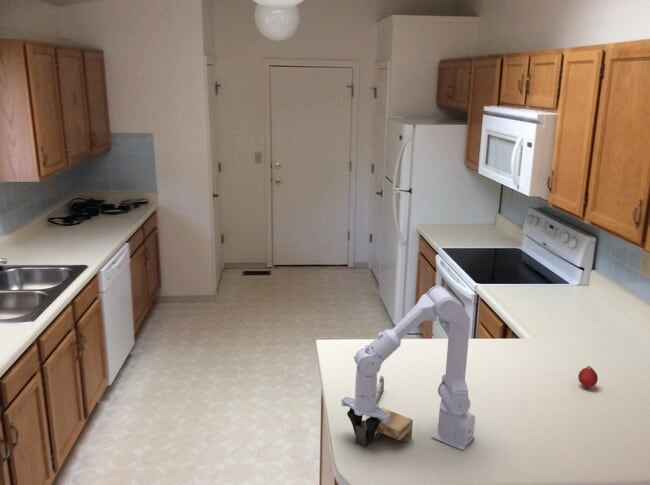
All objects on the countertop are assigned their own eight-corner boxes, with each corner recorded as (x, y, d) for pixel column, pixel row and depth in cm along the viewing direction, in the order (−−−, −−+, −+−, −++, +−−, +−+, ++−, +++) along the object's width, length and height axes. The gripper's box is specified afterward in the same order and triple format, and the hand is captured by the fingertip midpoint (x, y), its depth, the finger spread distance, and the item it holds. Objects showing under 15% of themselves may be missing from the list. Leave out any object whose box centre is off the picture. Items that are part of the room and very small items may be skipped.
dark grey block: (365, 447, 157) (365, 430, 156) (355, 442, 159) (355, 425, 158) (382, 435, 163) (383, 417, 162) (372, 430, 165) (373, 413, 164)
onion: (581, 381, 195) (584, 360, 193) (598, 388, 191) (602, 366, 189) (574, 387, 191) (577, 365, 189) (591, 394, 187) (595, 371, 185)
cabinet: (411, 439, 161) (412, 419, 160) (398, 451, 156) (399, 431, 154) (380, 426, 167) (381, 407, 166) (367, 437, 162) (368, 418, 160)
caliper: (380, 391, 187) (381, 373, 185) (383, 392, 187) (384, 374, 185) (364, 425, 168) (365, 405, 167) (368, 425, 168) (368, 406, 166)
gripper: (335, 389, 157) (334, 433, 160) (380, 407, 148) (378, 453, 152) (350, 379, 162) (348, 422, 166) (395, 396, 154) (392, 441, 157)
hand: (364, 436), depth 159 cm, fingers closed on dark grey block, 4 cm apart
